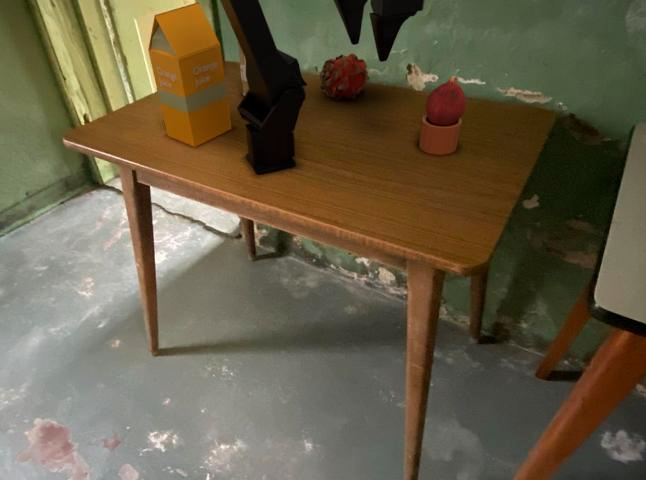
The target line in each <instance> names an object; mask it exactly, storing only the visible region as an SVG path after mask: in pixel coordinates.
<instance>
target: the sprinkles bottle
mask: <svg viewBox="0 0 646 480" xmlns="http://www.w3.org/2000/svg"><path fill="white" fill-rule="evenodd" d="M237 46H238V60H239V70H240V71H239V72H240V79H241V85H242V95H243V97H244V96H245V95H246V93H247V92H248V90H249V86H248V82H247V78H246V60H245V56H244V54H243V51H242V49H241V47H240V45H239V42H238V41H237Z"/></svg>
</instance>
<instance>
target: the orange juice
mask: <svg viewBox="0 0 646 480" xmlns="http://www.w3.org/2000/svg"><path fill="white" fill-rule="evenodd" d="M147 51H148V55H149V60H150V64H151V69H152V74H153V78H154V82H155V87H156V92H157V97H158V101H159V105H160V109H161V113H162V117H163V122H164V127H165V130H166V135H167V136H168V137H170V138H172V139H174V140H177V141H180V142H181V143H184V144H187V145H188V146H191V147H194V148H195V147H198V146H199V145H202V144H203V143H206V142H208V141H209V140H211V139H213V138H217V136H220V135H222V134H224V133H226V132H227V131H229V130H232V123H231V122H232V121H231V115H230V106H229V100H228V89H227V82H226V77H225V70H224V69H225V68H224V62H223V54H222V53H223V52H222V47H221V42H220V41H219V39H218V37H217V35H216V33H215V31H214V30H213V28H212V26H211V24H210V22H209V19H208V18H207V16H206V14H205V12H204V11H203V8H202V6H201V4H200V2H199V1H198V2H195V3H192V4H191V3H190V4H188V5H184V6H181V7H177V8H174V9H170V10H167V11H163V12H161V13H157V14H154V17H153V22H152V27H151V33H150V38H149V43H148V50H147Z"/></svg>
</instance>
